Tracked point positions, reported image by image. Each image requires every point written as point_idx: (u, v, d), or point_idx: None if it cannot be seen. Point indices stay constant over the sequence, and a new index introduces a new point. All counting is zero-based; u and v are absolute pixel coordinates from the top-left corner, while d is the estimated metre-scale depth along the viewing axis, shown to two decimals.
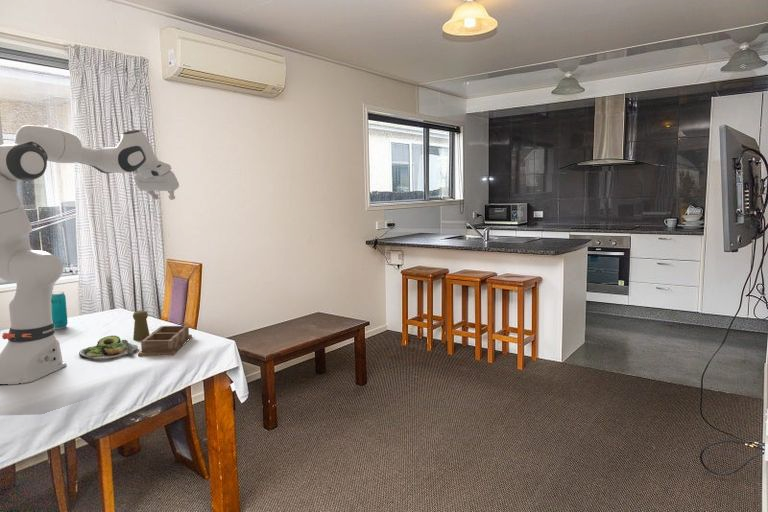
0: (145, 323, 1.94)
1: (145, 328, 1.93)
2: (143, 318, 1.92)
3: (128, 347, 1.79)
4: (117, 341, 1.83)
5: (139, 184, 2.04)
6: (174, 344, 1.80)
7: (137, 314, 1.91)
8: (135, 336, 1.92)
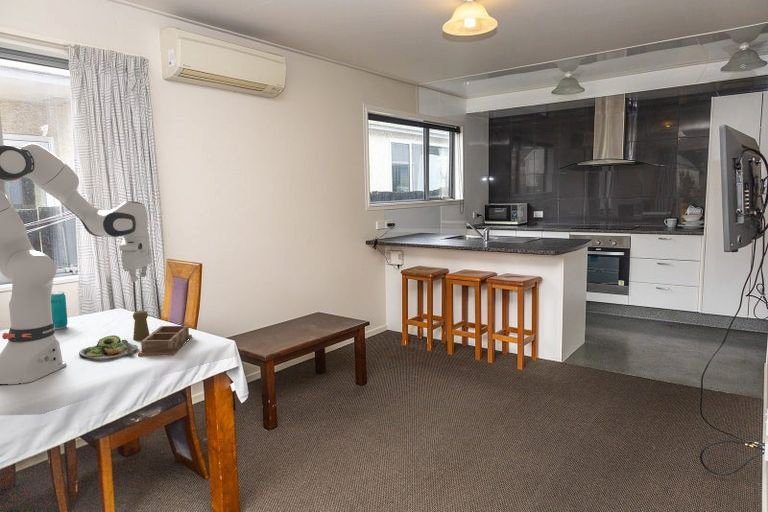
0: (145, 323, 1.94)
1: (145, 328, 1.93)
2: (143, 318, 1.92)
3: (128, 347, 1.79)
4: (117, 341, 1.83)
5: None
6: (174, 344, 1.80)
7: (137, 314, 1.91)
8: (135, 336, 1.92)
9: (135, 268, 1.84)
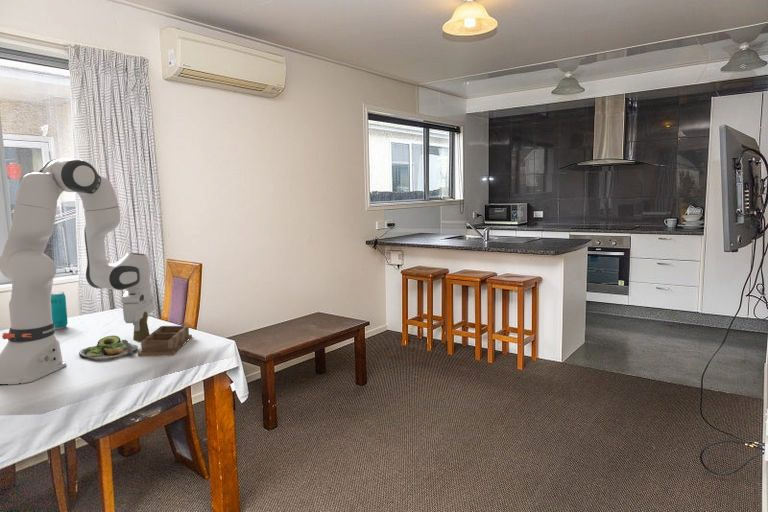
0: (145, 323, 1.94)
1: (145, 328, 1.93)
2: (143, 318, 1.92)
3: (128, 347, 1.79)
4: (117, 341, 1.83)
5: None
6: (174, 344, 1.80)
7: None
8: (135, 336, 1.92)
9: (136, 320, 1.86)
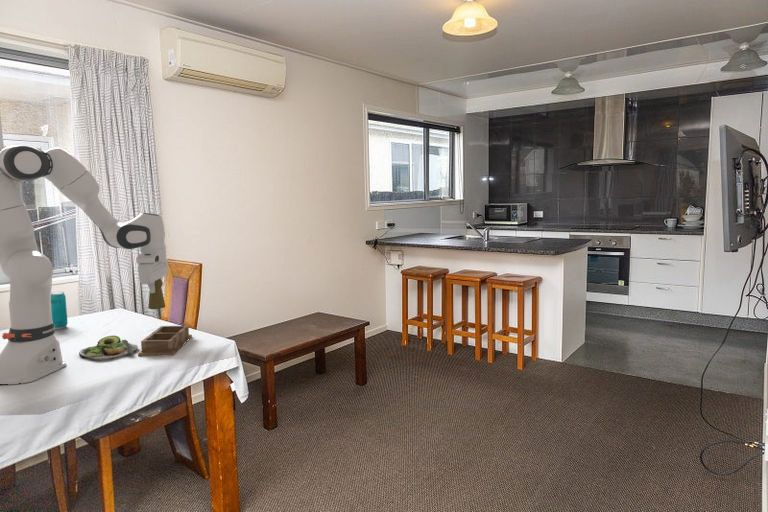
0: (160, 291, 1.90)
1: (160, 296, 1.89)
2: (159, 286, 1.88)
3: (128, 347, 1.79)
4: (117, 341, 1.83)
5: None
6: (174, 344, 1.80)
7: None
8: (150, 304, 1.88)
9: (152, 281, 1.82)
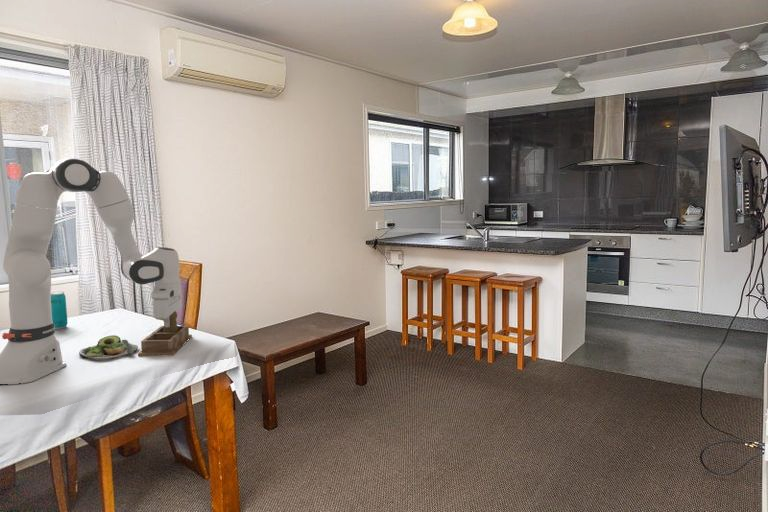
0: (175, 323, 1.89)
1: (175, 328, 1.89)
2: (173, 318, 1.88)
3: (128, 347, 1.79)
4: (117, 341, 1.83)
5: None
6: (174, 344, 1.80)
7: None
8: None
9: (167, 316, 1.81)
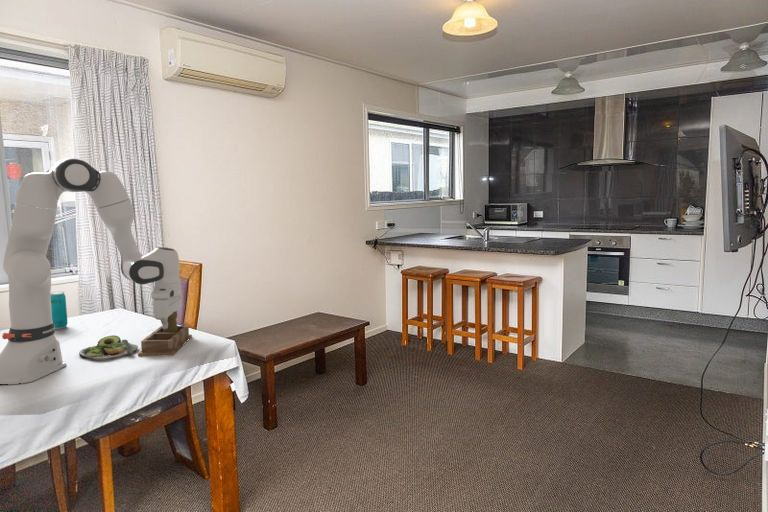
0: (175, 323, 1.89)
1: (175, 328, 1.89)
2: (173, 318, 1.88)
3: (128, 347, 1.79)
4: (117, 341, 1.83)
5: None
6: (174, 344, 1.80)
7: None
8: None
9: (167, 316, 1.81)
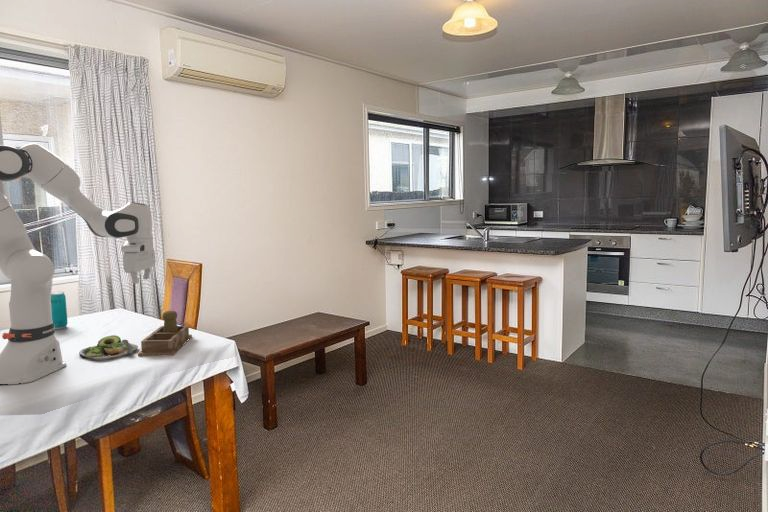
0: (175, 323, 1.89)
1: (175, 328, 1.89)
2: (173, 318, 1.88)
3: (128, 347, 1.79)
4: (117, 341, 1.83)
5: None
6: (174, 344, 1.80)
7: (167, 314, 1.87)
8: None
9: (136, 270, 1.82)
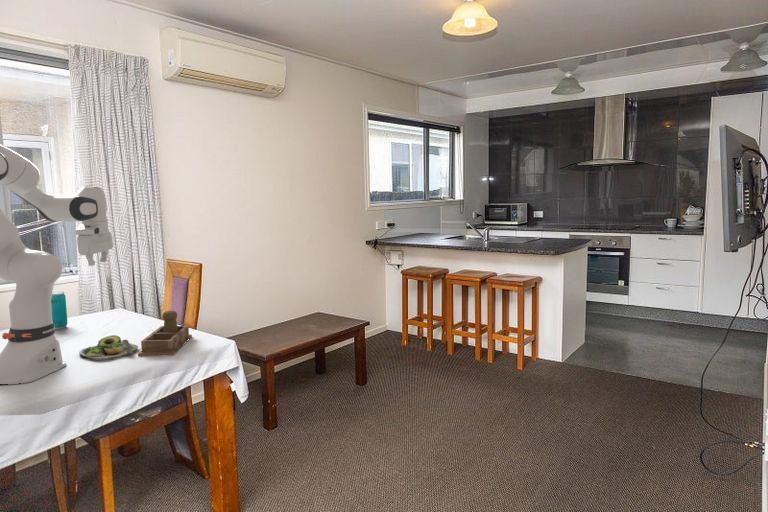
0: (175, 323, 1.89)
1: (175, 328, 1.89)
2: (173, 318, 1.88)
3: (128, 347, 1.79)
4: (117, 341, 1.83)
5: None
6: (174, 344, 1.80)
7: (167, 314, 1.87)
8: None
9: (91, 252, 1.86)
